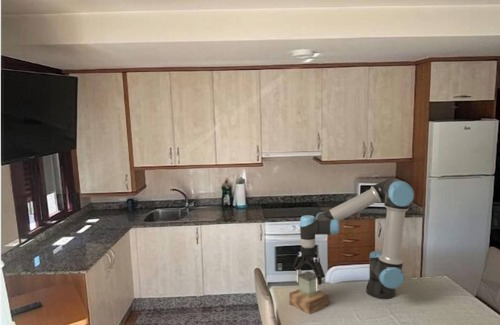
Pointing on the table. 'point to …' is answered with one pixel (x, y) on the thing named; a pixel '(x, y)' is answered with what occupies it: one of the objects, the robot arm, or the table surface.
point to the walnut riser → (308, 301)
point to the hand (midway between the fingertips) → (308, 285)
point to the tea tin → (307, 284)
